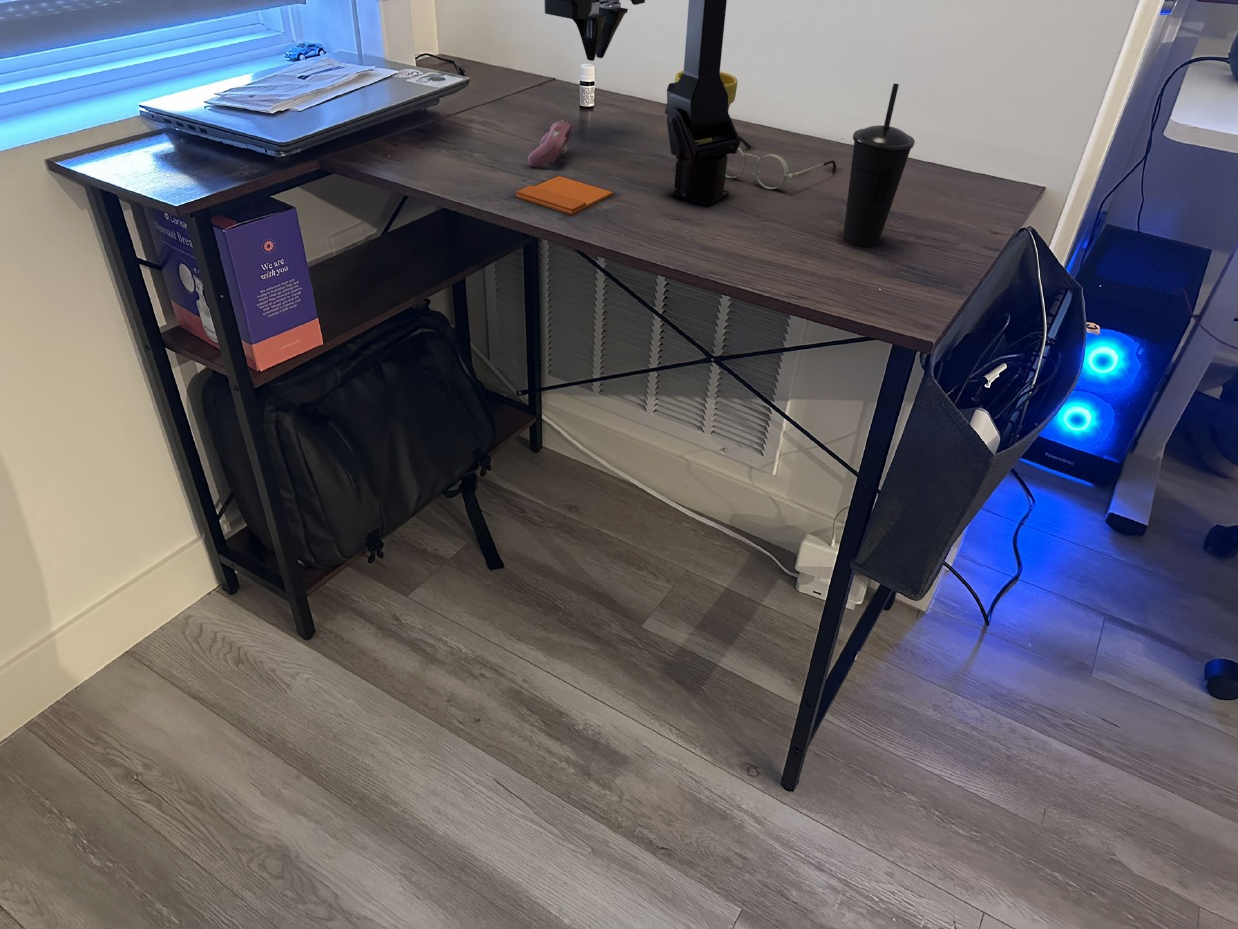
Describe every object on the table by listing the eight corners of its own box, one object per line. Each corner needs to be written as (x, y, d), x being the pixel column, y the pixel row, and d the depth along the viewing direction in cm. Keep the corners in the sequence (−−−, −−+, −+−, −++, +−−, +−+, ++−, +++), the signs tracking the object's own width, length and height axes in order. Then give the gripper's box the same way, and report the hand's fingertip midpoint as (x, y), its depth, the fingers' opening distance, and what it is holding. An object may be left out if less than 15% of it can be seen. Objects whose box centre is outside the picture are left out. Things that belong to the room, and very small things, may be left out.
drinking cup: (899, 240, 119) (939, 85, 107) (872, 256, 115) (910, 96, 102) (850, 223, 123) (883, 72, 111) (822, 238, 119) (852, 82, 106)
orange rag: (612, 194, 128) (613, 189, 128) (571, 214, 121) (571, 209, 121) (558, 178, 132) (558, 173, 132) (516, 197, 126) (515, 191, 125)
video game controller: (550, 179, 136) (570, 140, 132) (524, 164, 135) (543, 124, 131) (563, 159, 144) (582, 121, 139) (539, 144, 143) (557, 105, 139)
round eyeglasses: (699, 170, 138) (702, 137, 135) (746, 146, 148) (750, 116, 145) (796, 197, 130) (802, 163, 127) (839, 170, 140) (845, 139, 137)
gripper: (591, -67, 138) (589, 40, 148) (514, -56, 126) (517, 60, 135) (650, -59, 133) (644, 52, 143) (576, -46, 121) (575, 73, 131)
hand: (595, 59), depth 138 cm, fingers closed
